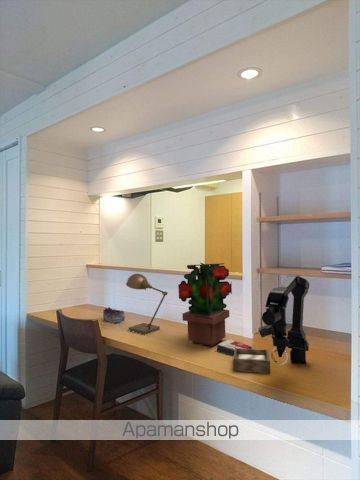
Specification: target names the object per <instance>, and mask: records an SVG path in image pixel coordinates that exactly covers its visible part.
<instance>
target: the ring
mask: <svg viewBox="0 0 360 480" xmlns="http://www.w3.org/2000/svg"><path fill="white" fill-rule="evenodd" d="M277 352H278V351H277V347H276V346H274V348H273V349H272V350H271V353H270V357H271V360H272V361H273V362H274V363H275V364H276V365H278V366H283V365H286V364H287V362H288V361H289V353H288V352H287V350H286V349H285V350H284V354H285V357H286V359H285V361H283V362H281V361H277V360H276V359H275V357H274V354H275V353H277Z"/></svg>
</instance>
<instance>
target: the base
mask: <svg viewBox="0 0 360 480" xmlns="http://www.w3.org/2000/svg"><path fill="white" fill-rule="evenodd" d="M270 359H271V358H270V351H269V349H263V348H262V349H261V348H252V349H244V348H235V351H234V356H233V360H232V361H233V371H234V370H236V371H235V372H243V371H251V372H250V373H260V372H261V373H262V374H263V373H265V374H271V360H270Z"/></svg>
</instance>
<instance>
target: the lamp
mask: <svg viewBox="0 0 360 480" xmlns="http://www.w3.org/2000/svg"><path fill="white" fill-rule="evenodd" d="M125 286H126V287H128V288H130V289H133V290H144V291H146V290H147V289H151V290H154V291H158V292H159V293H161V295H163V296H162V297H161V300H160V302H159V303H158V305H157V308H156V309H155V312H154V314H153V316H152V318H151V320H150V322H149V323H146V322H141V323H140V324H136V325H132V326H129V327H128V331H129V330H130V331H129V332H132V331H134V332H133V333H136V332H137V333H136V334H139V333H141V334H140V335H143V334H144V336H146V335H149V334H150V333H154V332H157V331H160V329H161V327H160V326H159V325H155V324H152V323H153V321H154V319H155V318H156V315H157V314H158V311H159V309H160V307H161V305H162V303H163V302H164V300H165V297H166V296H167V295H168V294H169V293H168V291H163V290H162V289H161V290H160V289H158V288H156V287H153V286H152V285H151V284H150V282H148V279H147V277H146V276H145V275H144V274H141V273H134V274H131V275H130V276H129V277H128V278H127V279H126V283H125ZM148 333H149V334H148ZM145 334H146V335H145Z"/></svg>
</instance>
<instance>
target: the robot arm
mask: <svg viewBox="0 0 360 480" xmlns="http://www.w3.org/2000/svg"><path fill="white" fill-rule="evenodd" d="M309 289H310V282H309V281H308V280H307V279H306V278H304V277H301V276H300V275H298V274H288V275H287V276H286V278H285V279H284V281H283V282H282V283H281V284H280V285H279V287H275V288H272V289H271V290H270V291H269V293H268V296H267V299H266V302H265V303H266V304H265V310H266V311H263V313H262V316H261V320H262V323H263V324H264V325H263V326H261V327H259V328H258V332H259V335H260V337H261V338H265V337H267V336H271V340H272V346H273V347H277V351H276V352H277V355H278V358H282V357H283V355H284V354H285V352H284V350H286V348H287V349H289V359H290V362H291V363H292V364H299V365H305V364H308V363H307V360H306V358H307V357H306V355H307V353H306V352H309V349H310V344H309V341H308V340H307V338H306V337H307V336H306V335H307V334H306V332H305V331H304V329H303V326H304V325H303V323H304V322H303V321H304V303H305V298H306V296H307V295H308V293H309ZM290 293H291V295H292V296H293V297H292V298H293V300H292V301H293V302H292V303H293V304H292V319H291V320H292V321H291V322H292V323H291V328H290V329H289V330H288V331H287V321H286V320H287V317H286V316H287V315H286V314H287V313H286V308H288V307H287V306H288V302H289V299H290V297H289V294H290Z"/></svg>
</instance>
